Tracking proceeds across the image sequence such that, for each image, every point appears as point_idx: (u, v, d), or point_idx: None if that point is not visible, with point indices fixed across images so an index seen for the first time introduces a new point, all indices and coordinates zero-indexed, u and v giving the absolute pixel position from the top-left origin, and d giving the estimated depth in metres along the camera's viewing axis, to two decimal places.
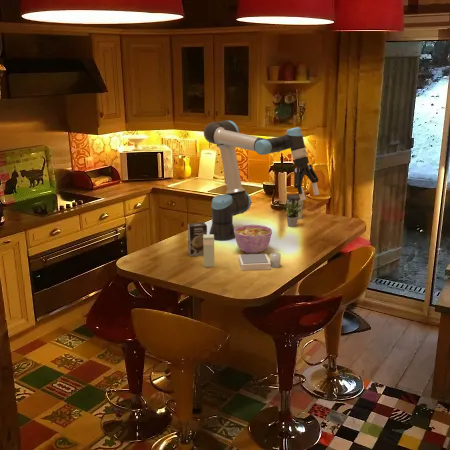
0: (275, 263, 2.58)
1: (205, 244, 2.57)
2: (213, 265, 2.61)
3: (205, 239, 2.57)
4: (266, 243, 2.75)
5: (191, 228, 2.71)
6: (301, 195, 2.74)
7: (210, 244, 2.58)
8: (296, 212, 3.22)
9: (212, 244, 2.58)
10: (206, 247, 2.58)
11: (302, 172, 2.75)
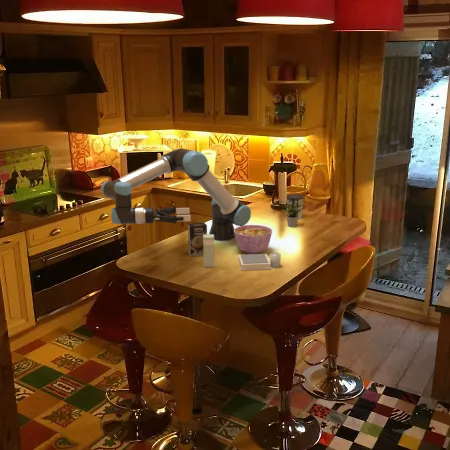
0: (275, 263, 2.58)
1: (205, 244, 2.57)
2: (213, 265, 2.61)
3: (205, 239, 2.57)
4: (266, 243, 2.75)
5: (191, 228, 2.71)
6: None
7: (210, 244, 2.58)
8: (296, 212, 3.22)
9: (212, 244, 2.58)
10: (206, 247, 2.58)
11: None
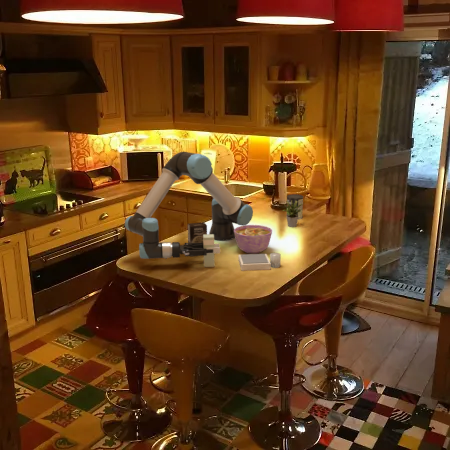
0: (275, 263, 2.58)
1: (205, 244, 2.57)
2: (213, 265, 2.61)
3: (205, 239, 2.57)
4: (266, 243, 2.75)
5: (191, 228, 2.71)
6: None
7: (210, 244, 2.58)
8: (296, 212, 3.22)
9: (212, 244, 2.58)
10: (206, 247, 2.58)
11: None
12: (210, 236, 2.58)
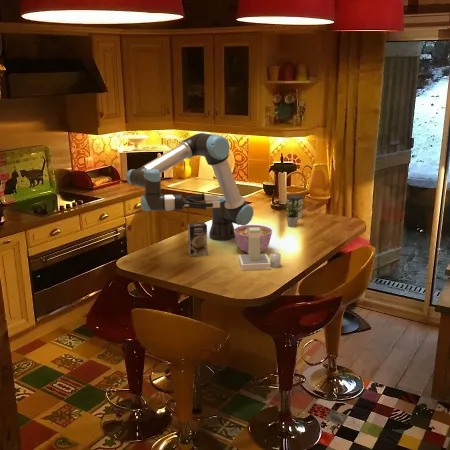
0: (275, 263, 2.58)
1: (251, 237, 2.56)
2: (258, 258, 2.60)
3: (251, 232, 2.56)
4: (266, 243, 2.75)
5: (191, 228, 2.71)
6: None
7: (256, 237, 2.56)
8: (296, 212, 3.22)
9: (258, 237, 2.56)
10: (252, 240, 2.57)
11: None
12: (256, 229, 2.57)
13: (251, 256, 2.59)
